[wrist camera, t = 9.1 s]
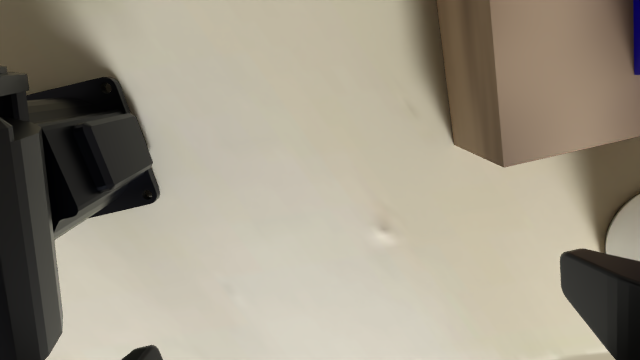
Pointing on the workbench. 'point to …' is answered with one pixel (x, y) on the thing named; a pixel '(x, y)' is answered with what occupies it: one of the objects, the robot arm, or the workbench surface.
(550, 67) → the plate
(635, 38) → the cable holder
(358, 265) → the workbench surface
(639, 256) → the can
